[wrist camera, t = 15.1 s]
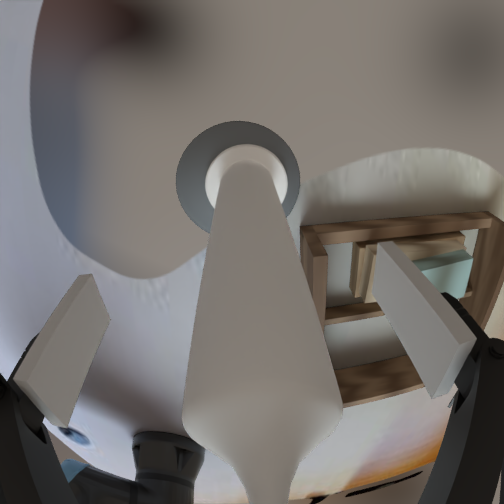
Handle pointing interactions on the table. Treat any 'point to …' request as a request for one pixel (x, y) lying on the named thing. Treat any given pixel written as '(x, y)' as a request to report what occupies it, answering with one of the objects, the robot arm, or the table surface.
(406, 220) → the rack
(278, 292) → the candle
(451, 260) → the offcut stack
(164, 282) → the table surface
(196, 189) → the pad
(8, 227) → the table surface
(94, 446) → the table surface
